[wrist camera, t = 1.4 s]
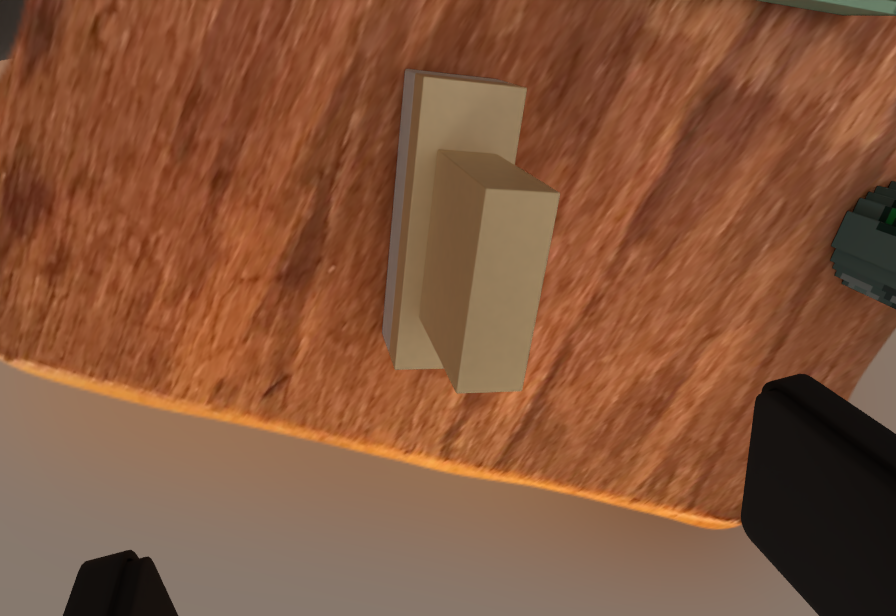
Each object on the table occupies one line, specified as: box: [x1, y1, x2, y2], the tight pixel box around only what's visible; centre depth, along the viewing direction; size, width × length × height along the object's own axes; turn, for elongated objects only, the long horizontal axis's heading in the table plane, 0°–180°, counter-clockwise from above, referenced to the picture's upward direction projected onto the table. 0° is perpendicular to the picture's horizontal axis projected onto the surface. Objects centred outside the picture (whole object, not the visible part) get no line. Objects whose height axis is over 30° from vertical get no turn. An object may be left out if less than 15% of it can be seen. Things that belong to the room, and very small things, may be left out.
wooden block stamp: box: [382, 69, 560, 393], centre depth 24 cm, size 4×12×10 cm, turn 173°
